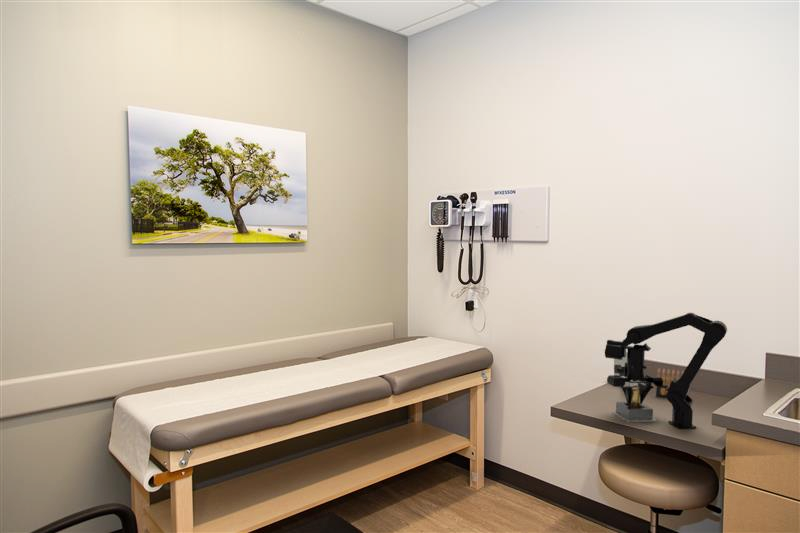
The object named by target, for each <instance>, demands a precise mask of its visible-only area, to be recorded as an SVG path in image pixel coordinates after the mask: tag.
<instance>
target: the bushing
mask: <svg viewBox="0 0 800 533" xmlns="http://www.w3.org/2000/svg"><path fill="white" fill-rule="evenodd" d="M640 397H641V389H639V387H632V394H631V402H630V404H628V407H630V408H640Z"/></svg>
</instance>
